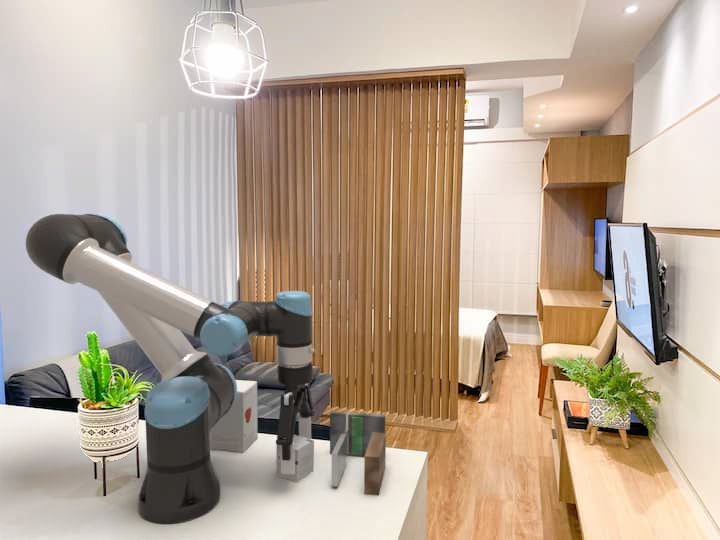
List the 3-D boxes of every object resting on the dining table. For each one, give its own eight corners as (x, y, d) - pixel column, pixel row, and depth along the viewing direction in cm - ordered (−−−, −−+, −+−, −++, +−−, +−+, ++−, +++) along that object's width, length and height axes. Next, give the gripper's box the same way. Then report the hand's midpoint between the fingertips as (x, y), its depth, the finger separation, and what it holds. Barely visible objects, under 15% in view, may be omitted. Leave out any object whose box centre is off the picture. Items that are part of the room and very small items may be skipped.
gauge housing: (313, 489, 106) (312, 442, 106) (331, 451, 124) (331, 411, 123) (378, 495, 104) (379, 447, 103) (387, 456, 122) (388, 415, 121)
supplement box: (243, 453, 123) (243, 392, 121) (209, 449, 124) (207, 389, 123) (258, 437, 132) (258, 380, 130) (226, 434, 133) (225, 378, 132)
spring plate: (331, 486, 107) (331, 439, 106) (344, 453, 122) (345, 412, 121) (337, 486, 107) (337, 440, 106) (349, 454, 121) (350, 413, 120)
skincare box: (275, 475, 112) (275, 443, 111) (292, 464, 117) (292, 433, 117) (298, 483, 109) (297, 449, 108) (314, 471, 114) (314, 439, 114)
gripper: (295, 381, 98) (298, 488, 100) (325, 349, 123) (326, 435, 125) (258, 380, 99) (261, 485, 101) (294, 348, 124) (296, 434, 126)
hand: (297, 458), depth 113 cm, fingers open, 13 cm apart
